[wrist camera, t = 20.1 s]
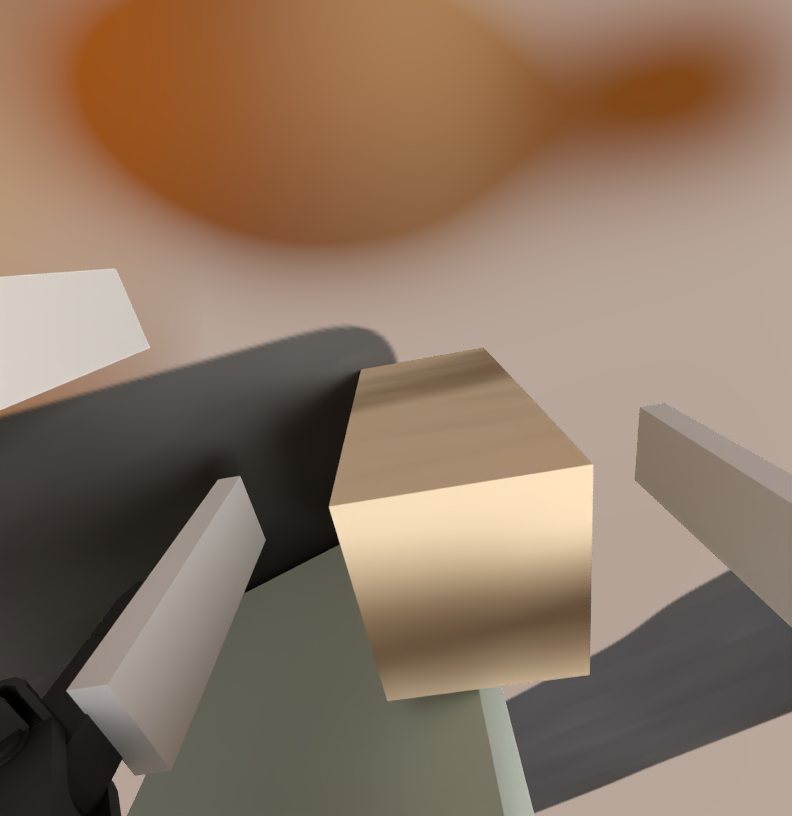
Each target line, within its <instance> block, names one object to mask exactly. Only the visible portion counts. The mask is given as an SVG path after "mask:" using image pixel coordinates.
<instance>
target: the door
mask: <svg viewBox="0 0 792 816" xmlns="http://www.w3.org/2000/svg"><path fill="white" fill-rule="evenodd" d="M127 816H534V812H533V808H532V804H531V800H530V796H529V792H528V788H527V784H526V780H525V776H524V773H523V769H522V765H521V761H520V757H519V753H518V749H517V745H516V741H515V737H514V733H513V729H512V725H511V721H510V718H509V714H508V710H507V706H506V702H505V698H504V694H503V690H502V686H500V687H492V688H485V689H477V690H469V691H462V692H454V693H447V694H439V695H431V696H424V697H416V698H408V699H401V700H393V701H387V698H386V695H385V692H384V688H383V685H382V682H381V678H380V675H379V672H378V668H377V665H376V662H375V658H374V655H373V652H372V649H371V645H370V642H369V639H368V635H367V632H366V629H365V625H364V622H363V619H362V615H361V612H360V609H359V605H358V602H357V599H356V595H355V592H354V589H353V585H352V582H351V579H350V576H349V572H348V569H347V566H346V562H345V559H344V556H343V552H342V549H341V546H340V545H338V546H336V547H334V548H332V549H330V550H328V551H326V552H324V553H322V554H320V555H318V556H316V557H314V558H312V559H311V560H309V561H307V562H305V563H303V564H301V565H299V566H297V567H295V568H293V569H291V570H289V571H287V572H285V573H283V574H281V575H279V576H277V577H275V578H273V579H272V580H270V581H268V582H266V583H264V584H262V585H260V586H258V587H256V588H254V589H252V590H250V591H248V592H246V593H244V594H243V597H242V599H241V602H240V604H239V606H238V609H237V611H236V614H235V616H234V619H233V621H232V623H231V626H230V628H229V631H228V633H227V636H226V638H225V641H224V643H223V645H222V648H221V650H220V653H219V655H218V658H217V660H216V663H215V665H214V667H213V670H212V672H211V675H210V677H209V680H208V682H207V685H206V687H205V689H204V692H203V694H202V697H201V699H200V702H199V704H198V706H197V709H196V711H195V714H194V716H193V719H192V721H191V724H190V726H189V728H188V731H187V733H186V736H185V738H184V741H183V743H182V746H181V748H180V750H179V753H178V755H177V758H176V760H175V763H174V765H173V768H172V770H171V771H165V772H158V773H151V774H146V776H145V778H144V781H143V783H142V785H141V787H140V789H139V791H138V793H137V796H136V798H135V800H134V802H133V804H132V806H131V808H130V811H129V813H128V815H127Z"/></svg>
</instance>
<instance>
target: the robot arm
mask: <svg viewBox="0 0 792 816" xmlns="http://www.w3.org/2000/svg"><path fill="white" fill-rule="evenodd" d="M638 428H639V429H638V442H637V456H636V470H635V481H637V482H638V483H639V484H640V485H641V486H642V487H643V488H644V489H645V490H646V491H647V492H648V493H649V494H650V495H651V496H653V497H654V498H655V499H656V500H657V501H658V502H659V503H660V504H661V505H662V506H663V507H664V508H665V509H666V510H668V511H669V512H670V513H671V514H672V515H673V516H674V517H675V518H676V519H677V520H678V521H679V522H680V523H681V524H682V525H683V526H684V527H686V528H687V529H688V530H689V531H690V532H691V533H692V534H693V535H694V536H695V537H696V538H698V540H699V541H700V542H702V543H703V544H704V545H705V546H706V547H707V548H708V549H709V550H710V551H711V552H712V553H713V554H714V555H715V556H716V557H717V558H718V559H720V560H721V561H722V562H723V563H724V564H725V565H726V566H727V567H728V568H729V569H730V570H731V571H732V572H733V573H734V574H736V575H737V576H738V577H739V578H740V579H741V580H742V581H743V582H744V583H745V584H746V585H747V586H748V587H749V588H750V589H751V590H753V591H754V592H755V593H756V594H757V595H758V596H759V597H760V598H761V599H762V600H763V601H764V602H765V603H766V604H767V605H769V606H770V607H771V608H772V609H773V610H774V611H775V612H776V613H777V614H778V615H779V616H780V617H781V618H782V619H783V620H784V621H786V622H787V623H788V624H789V625H790V626H791V627H792V475H791V474H790V473H788V472H786V471H784V470H783V469H781V468H779V467H777V466H775V465H774V464H772V463H770V462H768V461H767V460H765V459H763V458H761V457H760V456H758V455H756V454H754V453H752V452H751V451H749V450H747V449H745V448H744V447H742V446H740V445H738V444H736V443H735V442H733V441H731V440H729V439H728V438H726V437H724V436H722V435H720V434H719V433H717V432H715V431H713V430H711V429H710V428H708V427H706V426H704V425H703V424H701V423H699V422H697V421H696V420H694V419H692V418H690V417H689V416H687V415H685V414H683V413H681V412H680V411H678V410H676V409H674V408H673V407H671V406H669V405H667V404H665V403H662V404H656V405H650V406H644V407H640V413H639V427H638ZM265 540H266V539H265V537H264V534H263V532H262V529H261V527H260V524H259V522H258V519H257V517H256V514H255V512H254V509H253V507H252V504H251V502H250V499H249V497H248V494H247V492H246V489H245V487H244V484H243V482H242V479H241V477H240V476H236V477H230V478H224V479H218V480H217V482H216V483H215V485H214V486H213V487H212V489H211V490H210V491H209V493H208V494H207V496H206V497H205V498H204V500H203V501H202V503H201V504H200V505H199V507H198V508H197V510H196V511H195V512H194V514H193V515H192V516H191V518H190V519H189V521H188V522H187V523H186V525H185V526H184V528H183V529H182V530H181V532H180V533H179V535H178V536H177V537H176V539H175V540H174V541H173V543H172V544H171V546H170V547H169V548H168V550H167V551H166V553H165V554H164V555H163V557H162V558H161V560H160V561H159V562H158V564H157V565H156V566H155V568H154V569H153V571H152V572H151V573H150V575H149V576H148V578H147V579H146V580H145V581H140V582H137V583H136V584H135V585H134V586H133V587H131V588H130V589H129V590H128V591H127V592H126V593H125V594H124V595H122V596H121V597H120V598H119V599H118V600H117V601H116V603H115V604H114V605H113V607H112V608H111V609H110V611H109V612H108V613H107V615H106V616H105V617H104V619H103V623H100V624H99V625H98V626H97V628H96V629H95V630H94V632H93V633H92V634H91V638H90V640H87V641H86V642H85V644H84V645H83V646H82V648H81V649H80V650H79V651H78V653H77V654H76V655H75V657H74V658H73V659H72V661H71V662H70V663H69V665H68V666H67V667H66V669H65V670H64V671H63V673H62V674H61V675H60V677H59V678H58V679H57V680H56V682H55V683H54V684H53V686H52V687H51V688H50V690H49V691H48V692H47V694H46V695H45V696H44V698H43V699H41V698H40V697H39V696H38V694H37V693H36V692H35V691H34V690H33V689H32V687H31V686H30V685H29V684H28V683H27V682H26V680H25V679H20V678H16V677H14V678H10V679H6V680H2V681H0V816H121V811H120V804H119V797H118V791H117V789H116V786H115V785H114V782H113V781H112V778H113V776H114V774H115V772H116V770H117V768H118V766H119V764H120V762H121V760H123V761H124V763H125V764H126V765H127V766H128V767H129V769H130V770H131V771H132V772H133V774H134V775H143V774H151V773H158V772H165V771H171V770H172V768H173V765H174V763H175V760H176V758H177V755H178V753H179V750H180V748H181V746H182V743H183V741H184V738H185V736H186V733H187V731H188V728H189V726H190V724H191V721H192V719H193V716H194V714H195V711H196V709H197V706H198V704H199V702H200V699H201V697H202V694H203V692H204V689H205V687H206V685H207V682H208V680H209V677H210V675H211V672H212V670H213V667H214V665H215V663H216V660H217V658H218V655H219V653H220V650H221V648H222V645H223V643H224V641H225V638H226V636H227V633H228V631H229V628H230V626H231V623H232V621H233V619H234V616H235V614H236V611H237V609H238V606H239V604H240V602H241V599H242V597H243V594H244V592H245V589H246V587H247V584H248V582H249V580H250V577H251V575H252V572H253V570H254V567H255V565H256V562H257V560H258V558H259V555H260V553H261V550H262V548H263V545H264V543H265Z"/></svg>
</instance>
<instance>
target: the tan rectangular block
mask: <svg viewBox="0 0 792 816" xmlns="http://www.w3.org/2000/svg"><path fill="white" fill-rule="evenodd" d="M592 508H593V463H592V462H591V461H590V460H589V459H588V458H587V457H586V456H585V455H584V454H583V453H582V452H581V451H580V450H579V449H578V447H577V446H576V445H575V444H574V443H573V442H572V441H571V440H570V439H569V438H568V437H567V436H566V435H565V434H564V432H563V431H561V429H560V428H559V427H558V426H557V425H556V424H555V423H554V422H553V421H552V420H551V419H550V418H549V417H548V416H547V414H546V413H544V411H543V410H542V409H541V408H540V407H539V406H538V405H537V404H536V403H535V402H534V401H533V400H532V398H531V397H530V396H529V395H528V394H527V393H526V392H525V391H524V390H523V389H522V388H521V387H520V386H519V385H518V384H517V383H516V382H515V380H514V379H513V378H512V377H511V376H510V375H509V374H508V373H507V372H506V371H505V370H504V369H503V368H502V367H501V366H500V365H499V363H498V362H497V361H496V360H495V359H494V358H493V357H492V356H491V355H490V354H489V353H488V352H487V351H486V350H485V349H484V348H479V349H474V350H468V351H462V352H457V353H452V354H446V355H440V356H434V357H429V358H424V359H418V360H412V361H407V362H401V363H396V364H390V365H384V366H379V367H373V368H368V369H362V370H361V372H360V376H359V381H358V385H357V389H356V393H355V398H354V402H353V406H352V410H351V415H350V419H349V423H348V427H347V432H346V436H345V440H344V444H343V448H342V453H341V457H340V461H339V465H338V470H337V474H336V478H335V482H334V487H333V491H332V495H331V499H330V504H329V509H330V512H331V516H332V519H333V522H334V526H335V529H336V532H337V536H338V539H339V542H340V546H341V549H342V552H343V556H344V559H345V562H346V566H347V569H348V572H349V576H350V579H351V582H352V585H353V589H354V592H355V595H356V599H357V602H358V605H359V609H360V612H361V615H362V619H363V622H364V625H365V629H366V632H367V635H368V639H369V642H370V645H371V649H372V652H373V655H374V658H375V662H376V665H377V668H378V672H379V675H380V678H381V682H382V685H383V688H384V692H385V695H386V698H387V701H393V700H401V699H408V698H416V697H424V696H431V695H439V694H447V693H454V692H462V691H469V690H477V689H485V688H492V687H500V686H508V685H515V684H522V683H530V682H538V681H546V680H553V679H561V678H569V677H576V676H584V675H590V623H591V568H592V563H591V562H592V513H593V509H592Z"/></svg>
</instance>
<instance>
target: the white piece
mask: <svg viewBox="0 0 792 816" xmlns="http://www.w3.org/2000/svg"><path fill="white" fill-rule="evenodd" d="M149 348H150V346H149V344H148V342H147V339H146V337H145V335H144V332H143V330H142V328H141V325H140V323H139V321H138V318H137V316H136V314H135V312H134V309H133V307H132V305H131V302H130V300H129V298H128V295H127V293H126V291H125V288H124V286H123V284H122V282H121V279H120V277H119V275H118V272H117V271H116V269H100V270H86V271H73V272H60V273H45V274H31V275H17V276H3V277H0V410H2V409H5V408H7V407H9V406H12V405H14V404H17V403H19V402H22V401H24V400H26V399H29V398H31V397H33V396H36V395H38V394H41V393H43V392H46V391H48V390H50V389H53V388H55V387H57V386H60V385H63V384H65V383H67V382H70V381H72V380H75V379H77V378H79V377H82V376H84V375H87V374H89V373H91V372H94V371H96V370H98V369H101V368H104V367H106V366H108V365H111V364H113V363H116V362H118V361H120V360H123V359H125V358H127V357H130V356H132V355H135V354H137V353H139V352H142V351H145V350H147V349H149Z"/></svg>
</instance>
